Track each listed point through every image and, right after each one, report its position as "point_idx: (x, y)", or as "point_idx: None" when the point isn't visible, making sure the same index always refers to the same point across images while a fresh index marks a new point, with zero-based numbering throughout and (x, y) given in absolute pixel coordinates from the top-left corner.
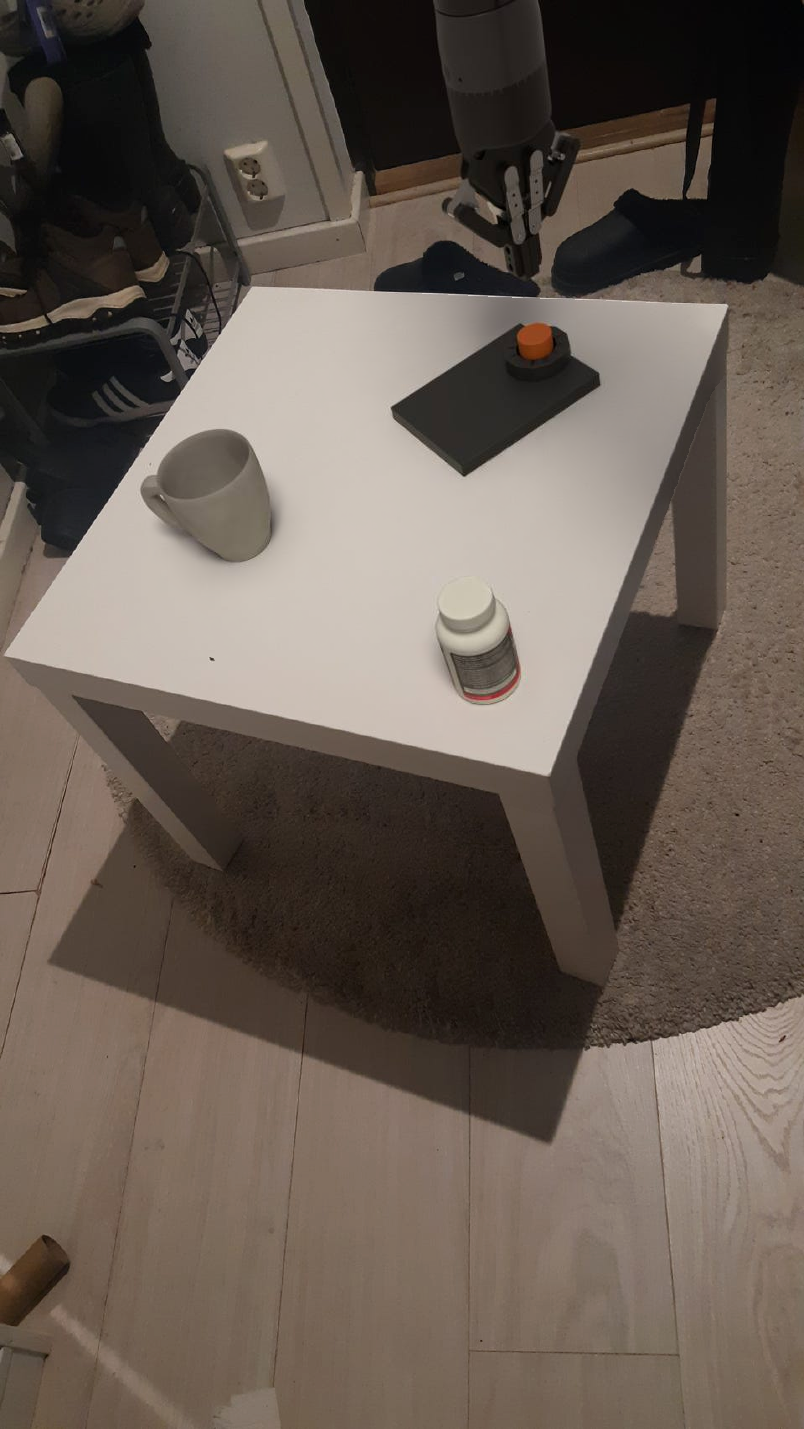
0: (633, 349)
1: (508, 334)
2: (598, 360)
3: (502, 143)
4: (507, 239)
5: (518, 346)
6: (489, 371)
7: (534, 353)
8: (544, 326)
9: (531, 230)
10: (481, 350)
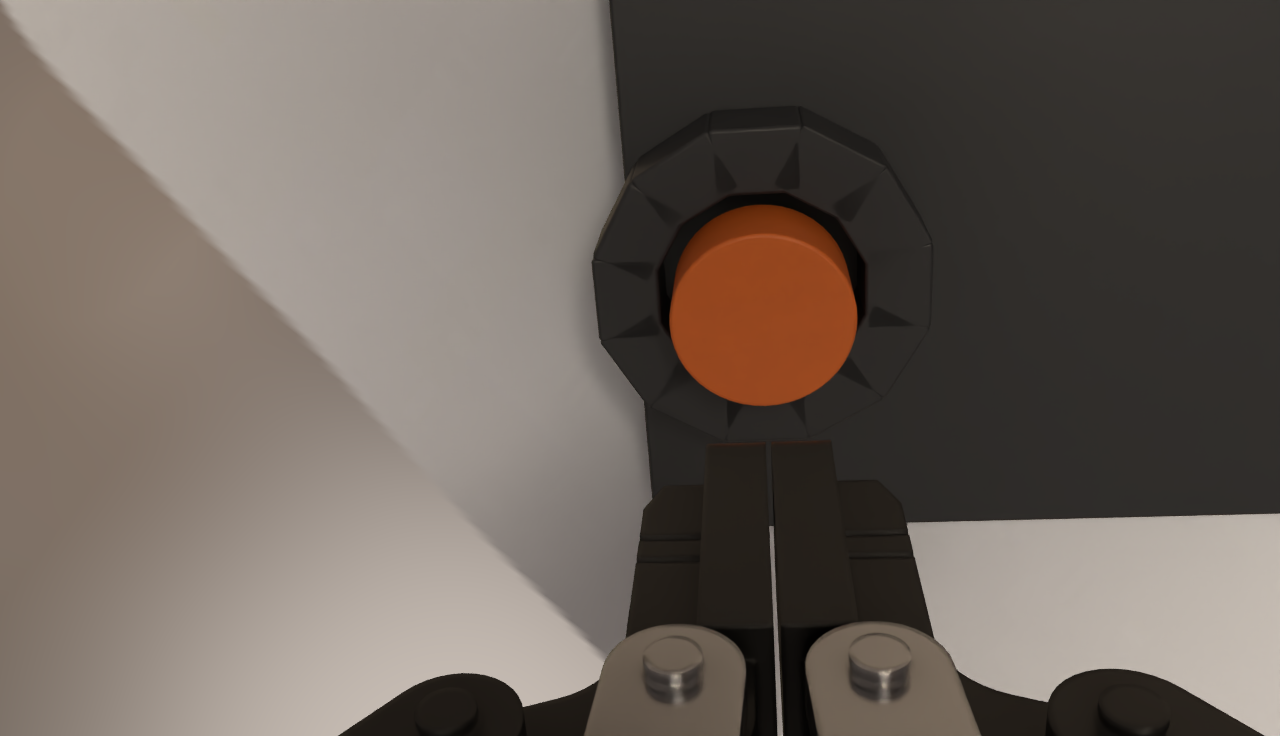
0: (351, 47)
1: None
2: (515, 107)
3: None
4: (995, 721)
5: None
6: (966, 371)
7: (821, 234)
8: (688, 329)
9: (729, 664)
10: None
